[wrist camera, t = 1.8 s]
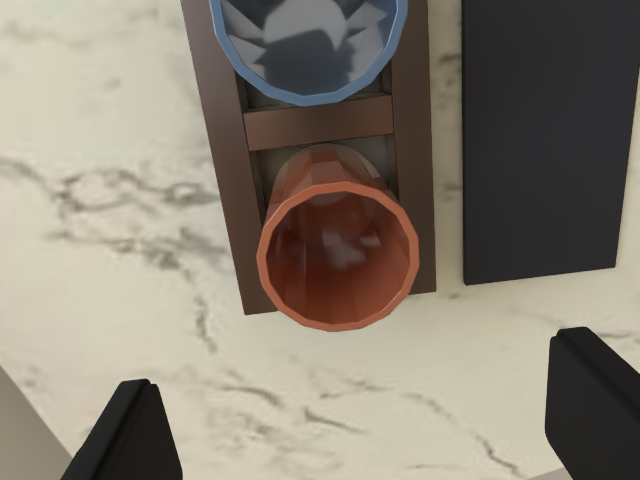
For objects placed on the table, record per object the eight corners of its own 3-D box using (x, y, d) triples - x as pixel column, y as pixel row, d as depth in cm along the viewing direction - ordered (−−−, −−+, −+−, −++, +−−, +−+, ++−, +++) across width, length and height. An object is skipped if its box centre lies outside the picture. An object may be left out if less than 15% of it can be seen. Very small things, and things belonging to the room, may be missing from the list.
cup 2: (264, 150, 27) (244, 193, 18) (377, 136, 27) (415, 172, 18) (281, 254, 30) (271, 340, 21) (384, 241, 30) (422, 321, 20)
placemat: (460, -60, 24) (463, -62, 23) (652, -85, 24) (659, -88, 23) (463, 282, 31) (465, 286, 31) (610, 264, 31) (615, 267, 31)
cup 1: (234, -37, 24) (189, -102, 15) (363, -54, 24) (401, -130, 15) (255, 98, 26) (230, 116, 17) (373, 83, 26) (412, 93, 17)
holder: (249, 293, 31) (244, 315, 28) (175, -87, 23) (158, -109, 20) (424, 271, 31) (436, 292, 28) (408, -118, 23) (423, -143, 20)
